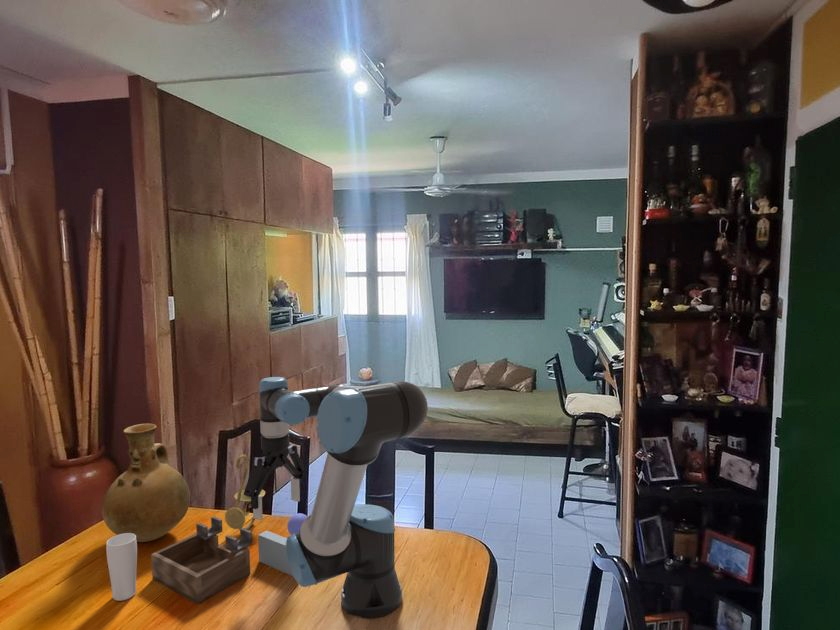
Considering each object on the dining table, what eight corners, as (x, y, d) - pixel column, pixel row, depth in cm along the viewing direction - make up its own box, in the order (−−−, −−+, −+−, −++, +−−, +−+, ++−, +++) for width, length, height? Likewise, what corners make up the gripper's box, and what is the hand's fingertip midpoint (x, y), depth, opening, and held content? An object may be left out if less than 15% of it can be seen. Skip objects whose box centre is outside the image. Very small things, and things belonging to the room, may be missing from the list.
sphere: (308, 541, 164) (307, 519, 164) (285, 541, 164) (284, 519, 164) (312, 530, 171) (312, 509, 171) (290, 530, 171) (290, 509, 171)
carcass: (256, 569, 149) (255, 533, 148) (198, 604, 134) (196, 563, 133) (211, 549, 160) (210, 514, 159) (152, 579, 145) (150, 541, 144)
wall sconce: (249, 542, 164) (246, 462, 162) (221, 538, 166) (218, 459, 164) (271, 521, 178) (269, 447, 176) (245, 518, 180) (242, 445, 178)
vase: (139, 518, 181) (133, 415, 177) (206, 522, 177) (202, 417, 174) (85, 555, 157) (78, 438, 154) (162, 561, 154) (156, 441, 151)
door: (304, 570, 149) (303, 542, 148) (293, 576, 146) (293, 548, 145) (269, 555, 157) (268, 529, 156) (259, 561, 154) (258, 534, 153)
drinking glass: (118, 607, 133) (115, 548, 132) (103, 598, 137) (100, 541, 135) (145, 592, 139) (142, 536, 138) (130, 584, 143) (127, 530, 141)
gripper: (298, 421, 160) (300, 490, 162) (227, 444, 139) (230, 523, 141) (317, 424, 156) (319, 496, 158) (247, 449, 135) (250, 531, 137)
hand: (277, 509), depth 149 cm, fingers open, 13 cm apart
